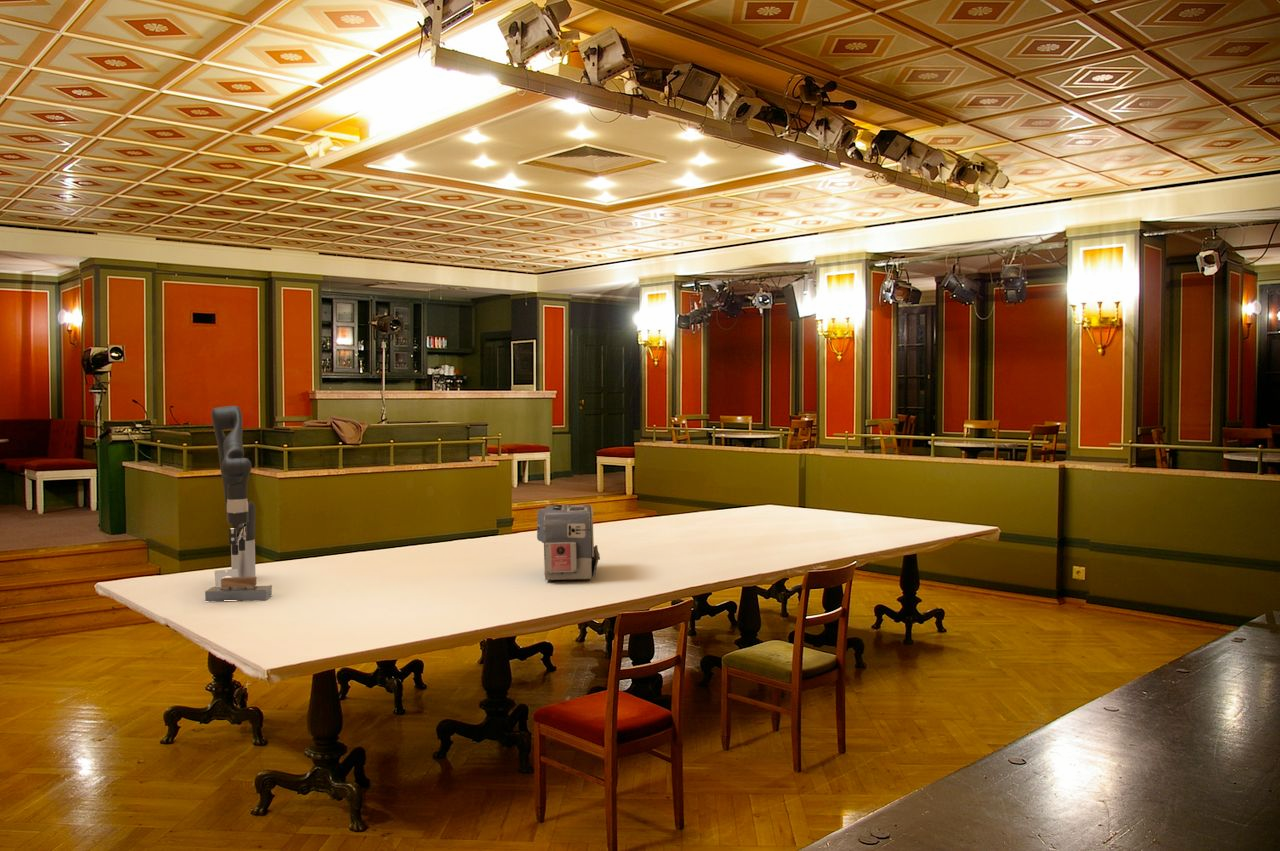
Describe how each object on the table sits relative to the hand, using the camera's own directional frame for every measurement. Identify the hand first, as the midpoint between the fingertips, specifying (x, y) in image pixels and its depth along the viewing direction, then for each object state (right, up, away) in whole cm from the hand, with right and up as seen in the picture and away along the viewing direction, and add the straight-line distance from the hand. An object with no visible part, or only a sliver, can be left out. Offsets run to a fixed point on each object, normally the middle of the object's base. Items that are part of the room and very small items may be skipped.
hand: (238, 552), depth 361 cm
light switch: (-10, -18, +14) cm, 25 cm away
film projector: (+122, -16, +43) cm, 130 cm away
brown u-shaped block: (0, -18, +1) cm, 18 cm away
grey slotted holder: (0, -18, +1) cm, 18 cm away
